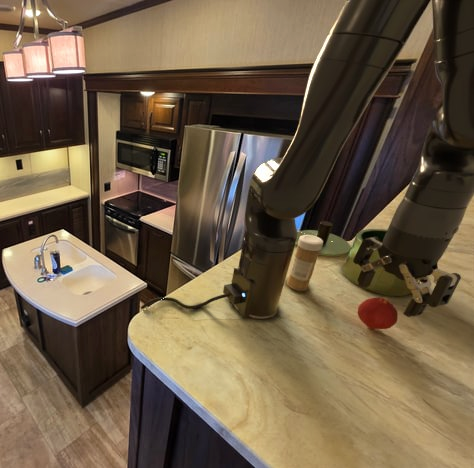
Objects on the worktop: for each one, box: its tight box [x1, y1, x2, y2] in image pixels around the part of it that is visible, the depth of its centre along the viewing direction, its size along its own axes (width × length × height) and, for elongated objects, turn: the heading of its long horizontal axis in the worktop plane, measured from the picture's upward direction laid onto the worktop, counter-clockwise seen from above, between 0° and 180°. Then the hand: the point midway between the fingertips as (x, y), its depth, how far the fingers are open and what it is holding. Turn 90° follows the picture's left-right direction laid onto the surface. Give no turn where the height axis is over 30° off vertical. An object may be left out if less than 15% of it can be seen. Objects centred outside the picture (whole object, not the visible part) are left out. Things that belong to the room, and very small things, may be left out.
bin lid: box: [295, 220, 351, 257], centre depth 85 cm, size 14×14×7 cm
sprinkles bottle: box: [286, 235, 323, 292], centre depth 68 cm, size 5×5×13 cm
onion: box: [357, 296, 398, 330], centre depth 57 cm, size 6×6×8 cm
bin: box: [342, 228, 419, 297], centre depth 69 cm, size 13×13×10 cm
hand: (385, 299), depth 56 cm, fingers open, 8 cm apart
